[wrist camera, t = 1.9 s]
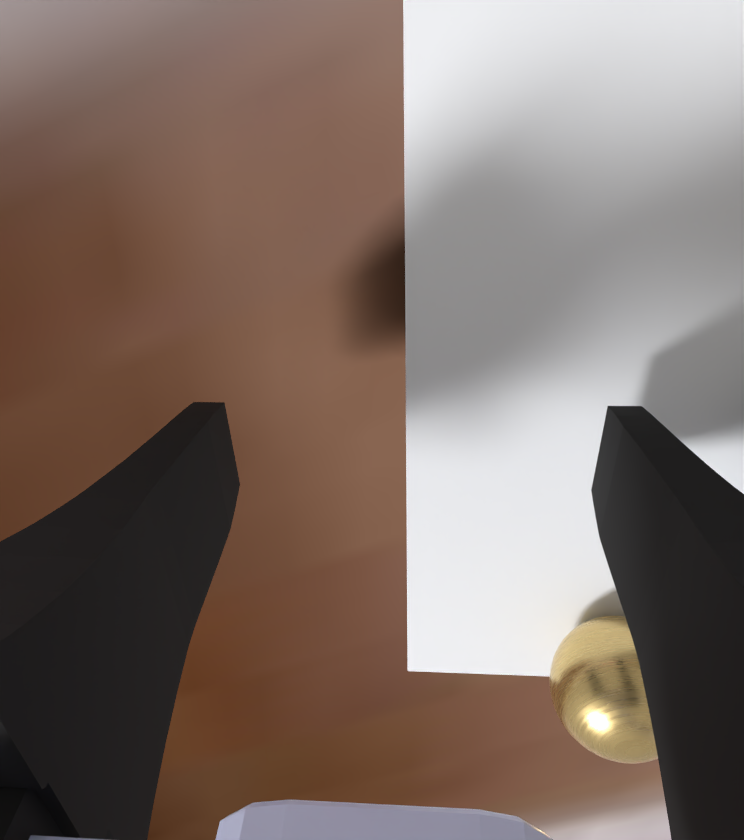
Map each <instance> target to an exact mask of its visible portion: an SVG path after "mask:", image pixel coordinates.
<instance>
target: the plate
mask: <svg viewBox="0 0 744 840" xmlns="http://www.w3.org/2000/svg"><path fill="white" fill-rule="evenodd" d="M403 10H404V168H405V326H406V484H407V643H408V671H420V672H447V673H474V674H501V675H528V676H550V669H551V665H552V661H553V657H554V655H555V652H556V650H557V648H558V646H559V645H560V643H561V642H562V641H563V639H564V638H565V637H566V636H567V635H568V634H569V633H570V632H571V631H572V630H573V629H574V628H576V627H577V626H579V625H580V624H582V623H584V622H586V621H588V620H591V619H594V618H597V617H602V616H625V615H624V612H623V609H622V606H621V603H620V600H619V597H618V593H617V590H616V587H615V584H614V581H613V578H612V575H611V572H610V569H609V566H608V563H607V560H606V557H605V554H604V550H603V547H602V544H601V541H600V537H599V533H598V527H597V522H596V517H595V511H594V505H593V498H592V492H591V489H592V484H593V479H594V474H595V468H596V463H597V458H598V453H599V448H600V443H601V438H602V433H603V428H604V422H605V417H606V412H607V407H608V406H642V407H643V408H645V409H646V410H647V411H648V412H649V413H650V414H652V415H653V416H654V417H655V418H656V419H657V420H658V421H659V422H660V423H662V424H663V425H664V426H665V427H666V428H667V429H668V430H669V431H670V432H671V433H672V434H674V435H675V436H676V437H677V438H678V439H679V440H680V441H681V442H682V443H683V444H685V445H686V446H687V447H688V448H689V449H690V450H691V451H692V452H693V453H695V454H696V455H697V456H698V457H699V458H700V459H701V460H703V461H704V462H705V463H706V464H707V465H708V466H710V467H711V468H712V469H713V470H714V471H715V472H717V473H718V474H719V475H720V476H721V477H723V478H724V479H725V480H726V481H728V482H729V483H730V484H731V485H733V486H734V487H735V488H736V489H738V490H739V491H740V492H742V493H743V494H744V0H403Z"/></svg>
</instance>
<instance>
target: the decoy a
mask: <svg viewBox="0 0 744 840" xmlns="http://www.w3.org/2000/svg"><path fill="white" fill-rule="evenodd" d="M550 691H551V697H552V701H553V704H554V707H555V709H556V712H557V714H558V716H559V718H560V720H561V722H562V723H563V725H564V727H565V728H566V729H567V730H568V732H569V733H570V734H571V735H572V736H573V737H574V738H575V739H576V740H577V741H578V742H579V743H580V744H581V745H582V746H584V747H585V748H586V749H588V750H589V751H591V752H593V753H594V754H596V755H598V756H600V757H603V758H605V759H608V760H612V761H616V762H620V763H643V762H648V761H652V760H655V759H657V758H658V755H657V750H656V744H655V739H654V734H653V728H652V723H651V718H650V713H649V708H648V703H647V698H646V693H645V689H644V684H643V679H642V674H641V670H640V665H639V661H638V657H637V653H636V650H635V646H634V643H633V639H632V636H631V633H630V630H629V627H628V624H627V621H626V618H625V616H602V617H597V618H594V619H591V620H588V621H586V622H584V623H582V624H580V625H579V626H577V627H576V628H574V629H573V630H572V631H571V632H570V633H569V634H568V635H567V636H566V637H565V638H564V639H563V641H562V642H561V643H560V645H559V646H558V648H557V650H556V652H555V655H554V657H553V661H552V665H551V669H550Z"/></svg>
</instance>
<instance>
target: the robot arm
mask: <svg viewBox="0 0 744 840" xmlns="http://www.w3.org/2000/svg"><path fill="white" fill-rule="evenodd" d="M239 486H240V483H239V477H238V472H237V467H236V461H235V456H234V451H233V446H232V440H231V435H230V430H229V425H228V419H227V414H226V409H225V403H215V402H193V403H192V404H191V405H189V406H188V407H187V408H186V409H184V410H183V411H182V412H181V413H180V414H178V415H177V416H176V417H175V418H174V419H173V420H171V421H170V422H169V423H168V424H167V425H166V426H164V427H163V428H162V429H161V430H160V431H159V432H158V433H156V434H155V435H154V436H153V437H152V438H151V439H149V440H148V441H147V442H146V443H145V444H143V445H142V446H141V447H140V448H139V449H137V450H136V451H135V452H134V453H133V454H131V455H130V456H129V457H128V458H127V459H125V460H124V461H123V462H122V463H120V464H119V465H118V466H116V467H115V468H114V469H112V470H111V471H110V472H108V473H107V474H106V475H105V476H103V477H102V478H101V479H99V480H98V481H97V482H95V483H94V484H93V485H91V486H90V487H89V488H87V489H86V490H85V491H83V492H82V493H80V494H79V495H78V496H76V497H75V498H73V499H72V500H70V501H69V502H67V503H66V504H64V505H63V506H61V507H60V508H58V509H56V510H55V511H53V512H52V513H50V514H48V515H47V516H45V517H44V518H42V519H40V520H39V521H37V522H35V523H34V524H32V525H30V526H29V527H27V528H25V529H23V530H21V531H19V532H18V533H16V534H14V535H12V536H10V537H8V538H6V539H5V540H3V541H1V542H0V840H147V837H148V831H149V825H150V820H151V814H152V808H153V803H154V798H155V793H156V788H157V783H158V778H159V773H160V768H161V763H162V758H163V753H164V748H165V743H166V739H167V734H168V730H169V725H170V721H171V717H172V712H173V708H174V703H175V699H176V694H177V690H178V686H179V682H180V678H181V674H182V670H183V666H184V662H185V658H186V654H187V650H188V646H189V643H190V640H191V637H192V634H193V630H194V627H195V624H196V622H197V619H198V616H199V613H200V611H201V608H202V605H203V603H204V600H205V597H206V595H207V592H208V589H209V586H210V584H211V581H212V578H213V576H214V573H215V570H216V568H217V565H218V562H219V559H220V557H221V554H222V551H223V548H224V545H225V543H226V540H227V537H228V534H229V531H230V528H231V524H232V519H233V515H234V511H235V506H236V501H237V496H238V491H239ZM591 492H592V498H593V505H594V511H595V517H596V522H597V527H598V533H599V537H600V541H601V544H602V547H603V550H604V554H605V557H606V560H607V563H608V566H609V569H610V572H611V575H612V578H613V581H614V584H615V587H616V590H617V593H618V597H619V600H620V603H621V606H622V609H623V612H624V615H625V618H626V621H627V624H628V627H629V630H630V633H631V636H632V639H633V643H634V646H635V650H636V653H637V657H638V661H639V665H640V670H641V674H642V679H643V684H644V689H645V693H646V698H647V703H648V708H649V713H650V718H651V723H652V728H653V734H654V739H655V744H656V750H657V755H658V760H659V765H660V771H661V777H662V783H663V789H664V795H665V801H666V807H667V813H668V819H669V825H670V832H671V839H672V840H744V494H743V493H742V492H740V491H739V490H738V489H736V488H735V487H734V486H733V485H731V484H730V483H729V482H728V481H726V480H725V479H724V478H723V477H721V476H720V475H719V474H718V473H717V472H715V471H714V470H713V469H712V468H711V467H710V466H708V465H707V464H706V463H705V462H704V461H703V460H701V459H700V458H699V457H698V456H697V455H696V454H695V453H693V452H692V451H691V450H690V449H689V448H688V447H687V446H686V445H685V444H683V443H682V442H681V441H680V440H679V439H678V438H677V437H676V436H675V435H674V434H672V433H671V432H670V431H669V430H668V429H667V428H666V427H665V426H664V425H663V424H662V423H660V422H659V421H658V420H657V419H656V418H655V417H654V416H653V415H652V414H650V413H649V412H648V411H647V410H646V409H645V408H643V407H642V406H608V407H607V412H606V417H605V422H604V428H603V433H602V438H601V443H600V448H599V453H598V458H597V463H596V468H595V474H594V479H593V484H592V489H591ZM216 840H553V839H552V838H551V837H549V836H548V835H547V834H546V833H544V832H543V831H541V830H540V829H538V828H536V827H535V826H533V825H531V824H529V823H528V822H526V821H524V820H522V819H521V818H519V817H517V816H512V815H506V814H501V813H495V812H490V811H485V810H479V809H461V808H442V807H423V806H403V805H384V804H365V803H345V802H326V801H306V800H279V801H268V802H256V803H251V804H250V805H248V806H246V807H244V808H242V809H240V810H238V811H236V812H234V813H232V814H230V815H229V816H227V817H226V818H224V819H223V820H221V821H220V823H219V828H218V832H217V836H216Z"/></svg>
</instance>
